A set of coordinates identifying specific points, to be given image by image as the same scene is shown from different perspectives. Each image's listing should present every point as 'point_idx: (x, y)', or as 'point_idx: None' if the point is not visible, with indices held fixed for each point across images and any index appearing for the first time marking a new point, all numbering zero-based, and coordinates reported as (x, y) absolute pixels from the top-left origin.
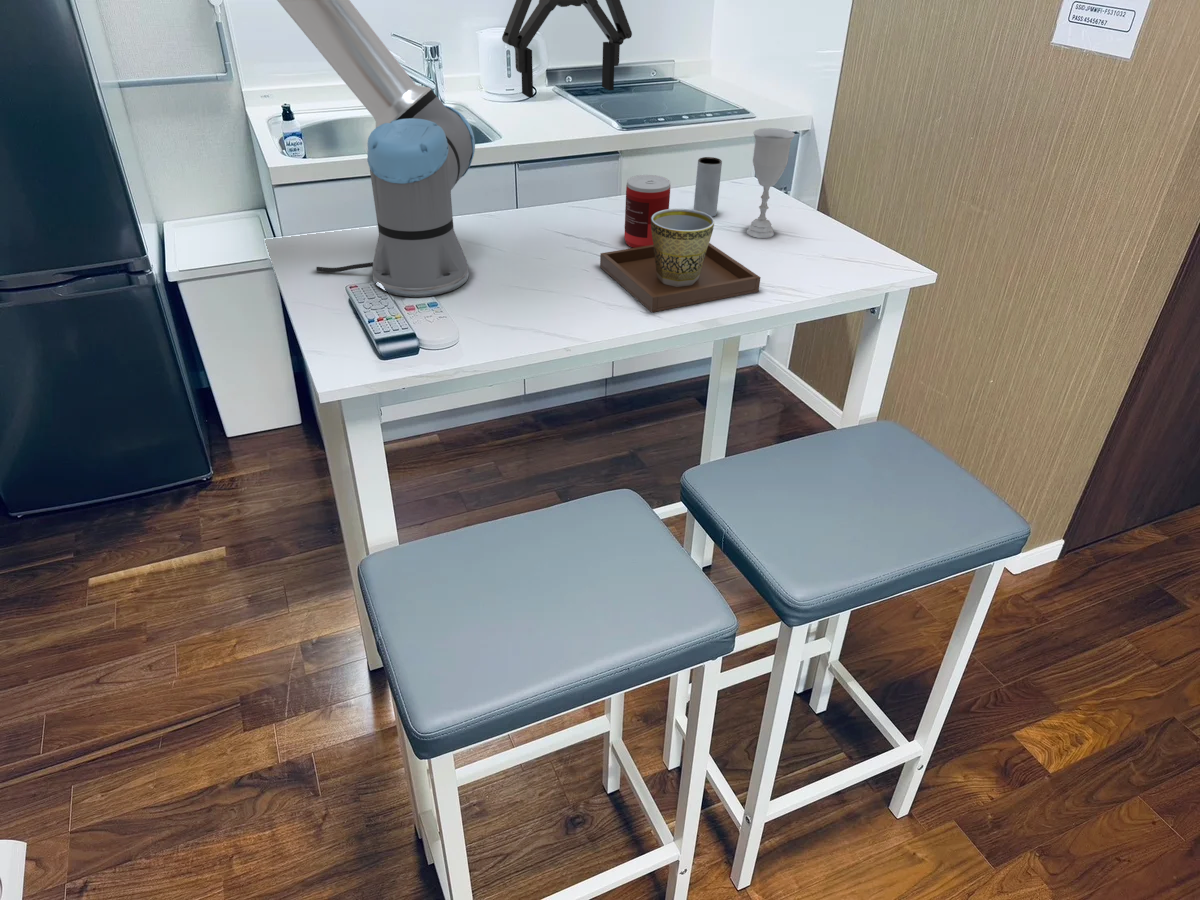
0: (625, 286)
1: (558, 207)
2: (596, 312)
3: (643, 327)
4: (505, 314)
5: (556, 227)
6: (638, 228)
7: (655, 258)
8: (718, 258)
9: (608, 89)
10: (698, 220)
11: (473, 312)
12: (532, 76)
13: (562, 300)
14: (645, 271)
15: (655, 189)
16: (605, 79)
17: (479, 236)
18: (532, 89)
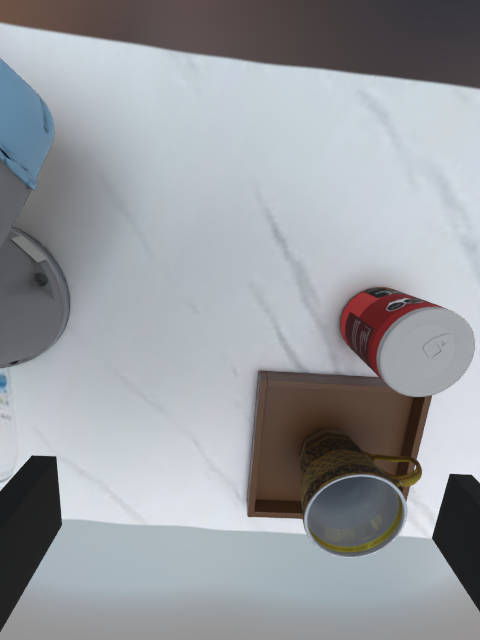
0: (252, 444)
1: (337, 85)
2: (188, 476)
3: (218, 523)
4: (82, 440)
5: (278, 191)
6: (355, 352)
7: (306, 456)
8: (408, 440)
9: (435, 532)
10: (395, 492)
11: (46, 420)
12: (5, 620)
13: (163, 435)
14: (302, 417)
15: (409, 395)
16: (467, 538)
17: (133, 168)
18: (42, 554)
